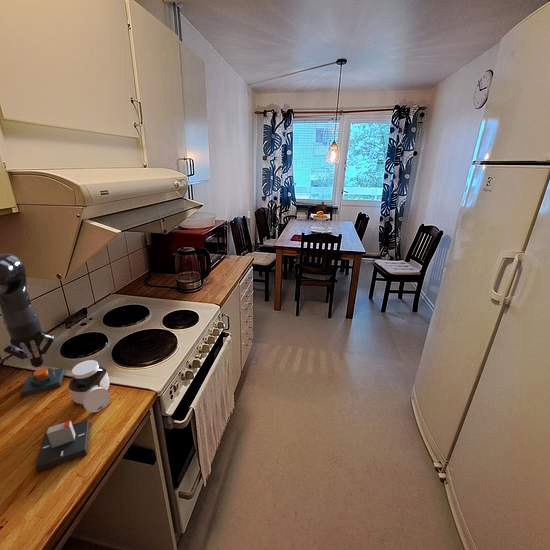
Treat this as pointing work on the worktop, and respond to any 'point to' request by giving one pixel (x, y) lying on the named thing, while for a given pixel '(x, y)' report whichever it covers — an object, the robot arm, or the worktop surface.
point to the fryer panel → (64, 448)
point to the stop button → (41, 373)
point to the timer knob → (61, 434)
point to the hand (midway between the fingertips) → (38, 365)
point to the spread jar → (90, 385)
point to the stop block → (43, 382)
